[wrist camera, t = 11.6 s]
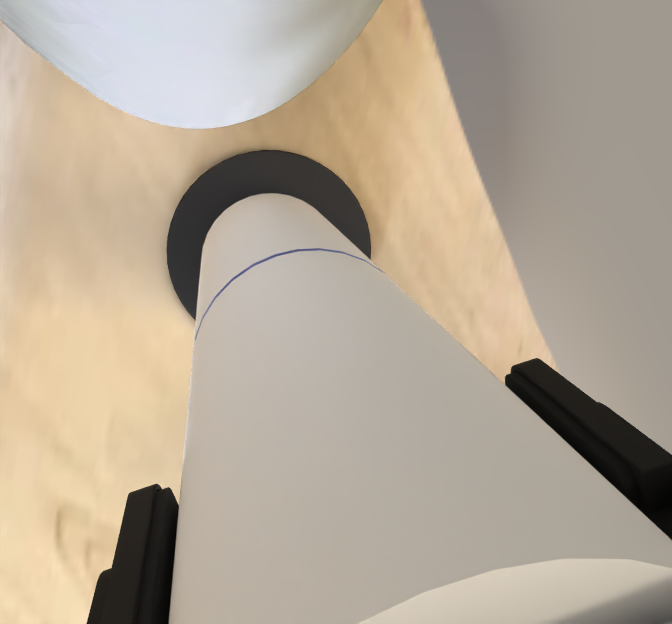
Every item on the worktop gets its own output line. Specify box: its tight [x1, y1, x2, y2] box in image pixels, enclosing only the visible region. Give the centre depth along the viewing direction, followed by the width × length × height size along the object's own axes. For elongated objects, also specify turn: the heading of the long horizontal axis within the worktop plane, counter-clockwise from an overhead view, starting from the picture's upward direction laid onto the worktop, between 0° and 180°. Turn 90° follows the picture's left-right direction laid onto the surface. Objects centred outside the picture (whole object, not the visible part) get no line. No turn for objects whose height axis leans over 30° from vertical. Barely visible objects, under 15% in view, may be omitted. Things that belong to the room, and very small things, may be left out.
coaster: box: [167, 150, 371, 320], centre depth 31 cm, size 11×11×1 cm
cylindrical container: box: [169, 193, 672, 624], centre depth 18 cm, size 7×7×25 cm
